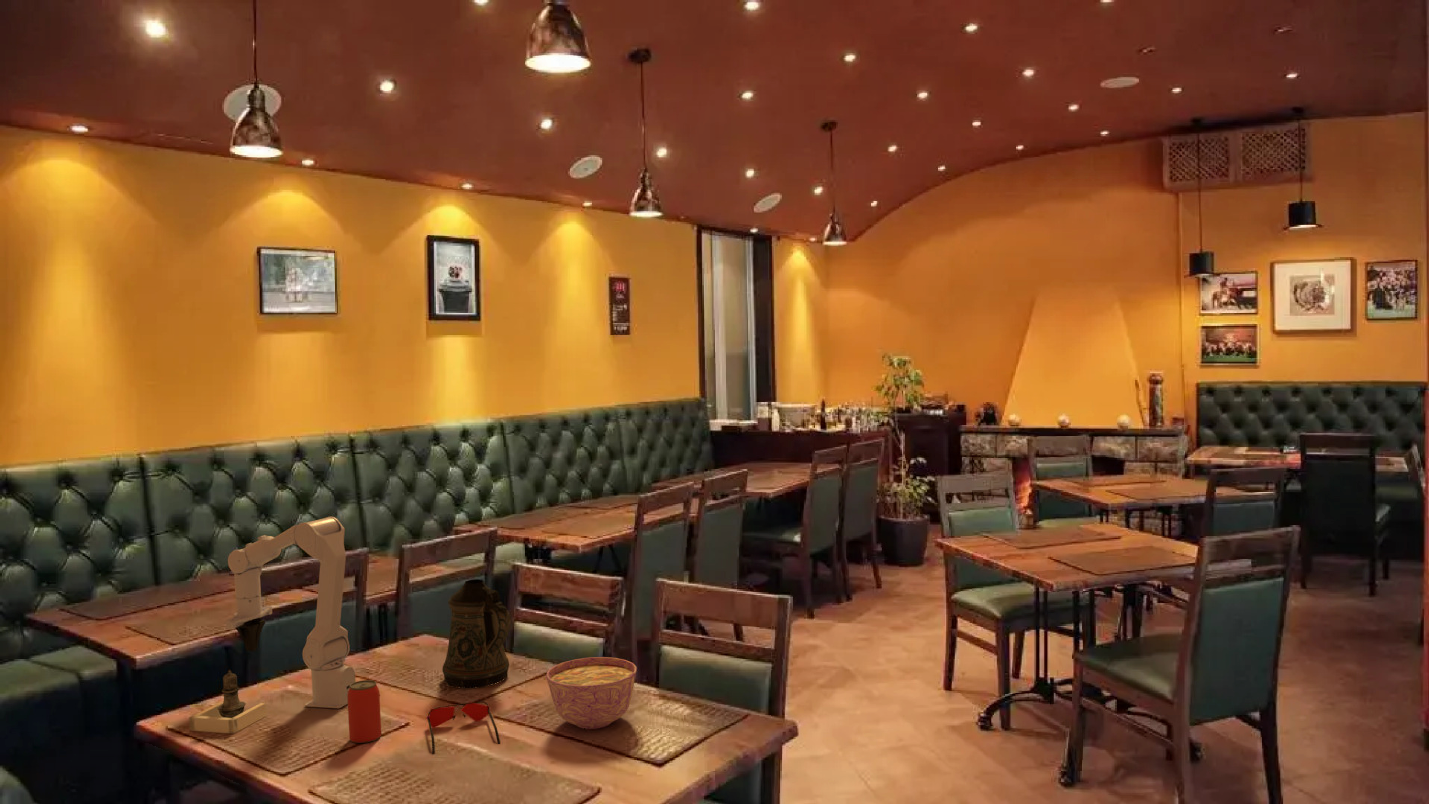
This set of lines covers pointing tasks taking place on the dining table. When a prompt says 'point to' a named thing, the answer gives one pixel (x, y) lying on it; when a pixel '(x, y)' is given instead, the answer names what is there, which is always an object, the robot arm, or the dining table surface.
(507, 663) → the beer stein
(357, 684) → the beer can
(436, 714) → the glasses
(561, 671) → the bowl of food
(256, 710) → the holder
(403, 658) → the dining table surface
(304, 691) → the dining table surface
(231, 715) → the dark bronze turned piece
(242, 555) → the robot arm
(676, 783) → the dining table surface
